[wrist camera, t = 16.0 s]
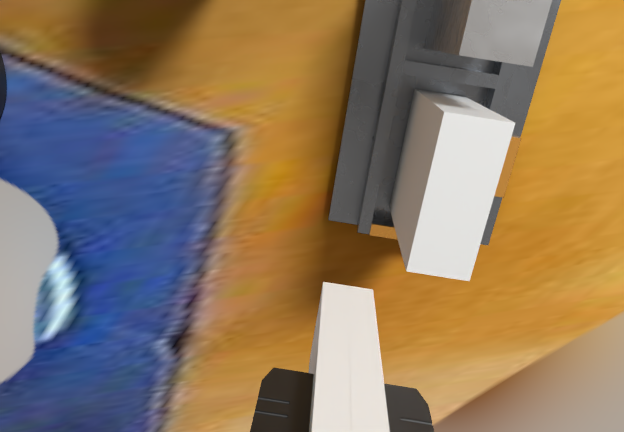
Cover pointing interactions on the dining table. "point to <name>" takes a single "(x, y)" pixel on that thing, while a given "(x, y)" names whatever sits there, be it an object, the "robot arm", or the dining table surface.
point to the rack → (432, 88)
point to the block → (447, 182)
